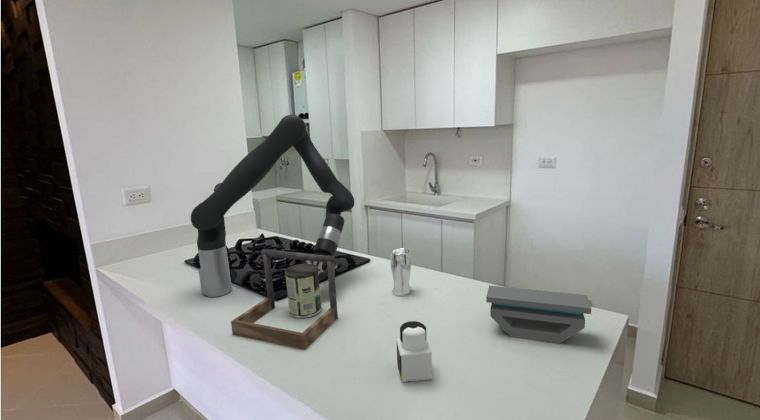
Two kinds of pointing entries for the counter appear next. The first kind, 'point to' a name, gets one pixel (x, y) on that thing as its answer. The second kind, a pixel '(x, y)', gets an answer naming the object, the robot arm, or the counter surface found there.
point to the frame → (271, 334)
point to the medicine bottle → (414, 353)
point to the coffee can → (303, 290)
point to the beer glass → (401, 271)
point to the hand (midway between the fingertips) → (312, 288)
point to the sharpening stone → (538, 313)
